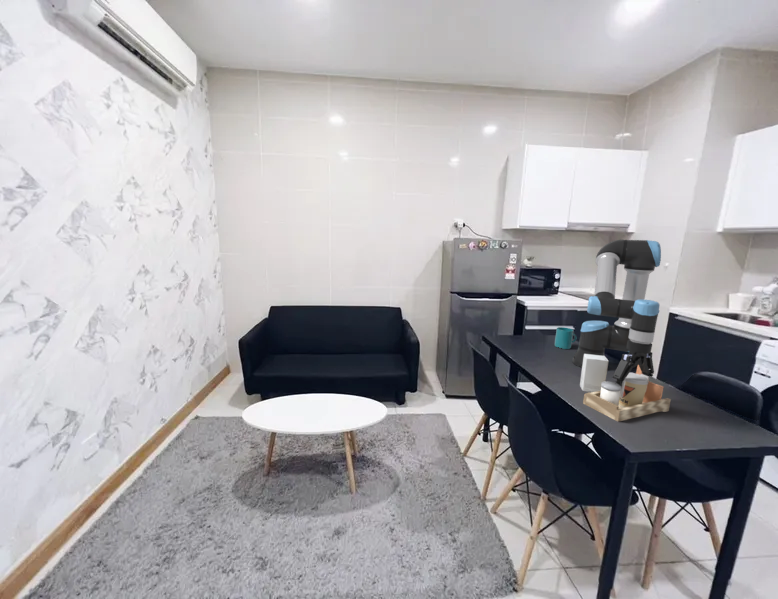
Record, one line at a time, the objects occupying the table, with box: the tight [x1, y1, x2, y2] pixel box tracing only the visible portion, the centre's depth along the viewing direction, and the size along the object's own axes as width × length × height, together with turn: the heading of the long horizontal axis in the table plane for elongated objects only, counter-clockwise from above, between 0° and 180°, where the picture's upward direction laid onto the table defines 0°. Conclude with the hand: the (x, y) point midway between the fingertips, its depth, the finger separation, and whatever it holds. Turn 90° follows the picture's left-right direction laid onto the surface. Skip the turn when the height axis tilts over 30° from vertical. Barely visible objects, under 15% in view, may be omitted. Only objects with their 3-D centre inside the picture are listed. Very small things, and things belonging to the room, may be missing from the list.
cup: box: [554, 326, 577, 350], centre depth 204 cm, size 9×12×11 cm
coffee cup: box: [619, 371, 649, 408], centre depth 131 cm, size 9×9×12 cm
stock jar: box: [600, 381, 621, 406], centre depth 127 cm, size 6×6×10 cm
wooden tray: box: [582, 391, 672, 422], centre depth 131 cm, size 29×14×6 cm, turn 112°
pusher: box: [635, 365, 664, 403], centre depth 134 cm, size 4×11×19 cm, turn 22°
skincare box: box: [579, 354, 610, 393], centre depth 144 cm, size 8×7×16 cm
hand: (630, 393), depth 131 cm, fingers open, 13 cm apart
